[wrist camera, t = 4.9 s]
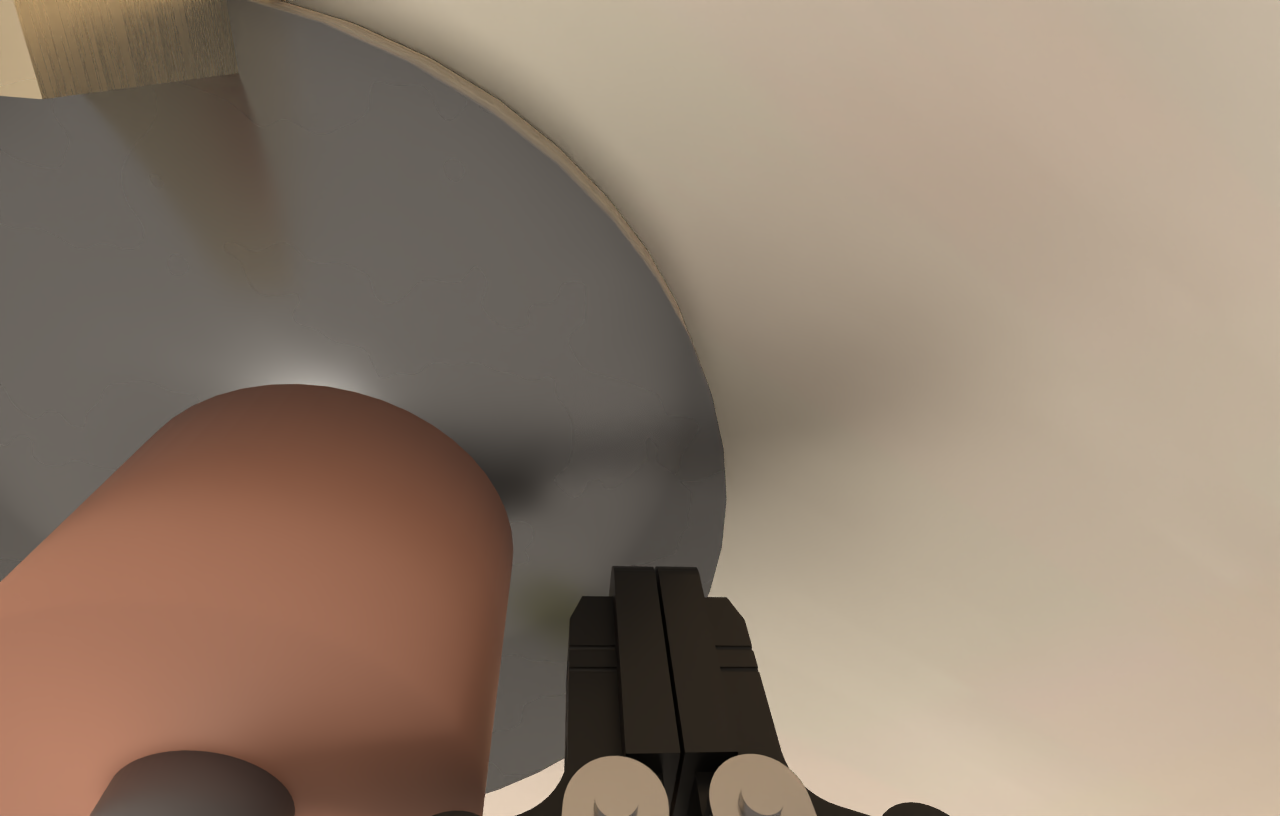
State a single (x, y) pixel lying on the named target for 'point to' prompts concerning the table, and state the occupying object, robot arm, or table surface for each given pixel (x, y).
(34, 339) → the platter
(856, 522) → the table surface
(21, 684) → the cap
